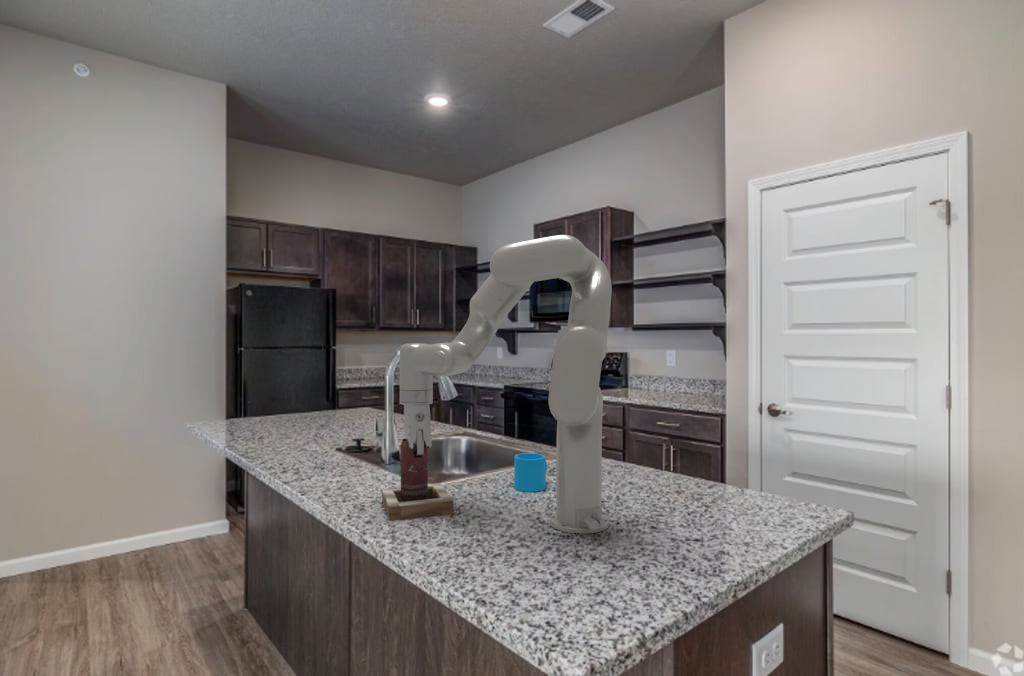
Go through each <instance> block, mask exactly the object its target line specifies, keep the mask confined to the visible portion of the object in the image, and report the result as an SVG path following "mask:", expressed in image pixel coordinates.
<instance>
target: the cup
mask: <svg viewBox="0 0 1024 676" xmlns="http://www.w3.org/2000/svg"><path fill="white" fill-rule="evenodd" d="M424 443H425V441H424ZM413 445H414V443H413ZM414 450H416V445H414V447H413V449H411V448H410V447H409V446H408V442H406V440H405V438H403V439H402V441H401V443H400V487H401V500H402V501H403V502H406V501H416V500H426V499H427V497H428V485H429V483H428V482H429V481H428V480H429V479H428V475H429V474H428V473H429V468H428V467H429V465H428V464H429V461H428V460H429V448H428V447H427V446H426V445H425V444H424V453H423V455H422V457H421V458H419V457H416V458H414V454H413V453H414Z"/></svg>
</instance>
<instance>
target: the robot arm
mask: <svg viewBox="0 0 1024 676" xmlns="http://www.w3.org/2000/svg"><path fill="white" fill-rule="evenodd" d="M489 270H490V275H489V276H488V277H487V278H486V279H485V281H484V282H483V283H482V284H481V285H480V287H479V288H478V289H477V291H475V293H474V294H473V295H472V297H471V298H470V300H469V316H468V319H467V321H466V323H465V324H464V326H463V327H462V329H461V331H460V332H459V333H458V334H457V336H456V337H454V339H453V340H452V341H451V342H450V341H449V342H439V343H433V344H429V343H420V342H419V343H415V342H414V343H404V344H402V345H401V346H400V348H399V405H403V406H404V407H403V408H404V409H403V411H404V412H403V419H404V420H403V422H404V423H403V426H404V427H403V428H404V429H403V431H404V434H403V435H404V439H405V440H406V442H408V446H409V447H410V448H411V449H413V447H414V445H416V450H414V453H413V454H414V458H416V457H419V458H421V457H422V455H423V453H424V444H425V445H426V446H427V447H428V449H430V448H431V447H432V446H433V445H432V420H431V411H430V407H431V406H430V405H432V404H433V403H434V402H433V401H434V390H433V389H434V385H433V382H434V381H433V380H434V377H442V378H443V377H450V376H453V375H460V374H463V373H464V372H467V370H469V369H470V368H472V366H473V365H474V364H475V363H476V361H477V360H478V359H479V358H480V356H481V355H482V354H483V352H484V351H486V349H487V347H488V346H489V345H490V344H491V341H492V340H493V338H494V337H495V335H496V333H497V331H498V330H499V328H500V325H501V324H502V322H503V321H504V320H505V318H506V317H507V316H508V314H509V313H510V312H511V311H512V310H513V308H514V307H515V306H516V304H518V302H519V301H520V300H521V299H522V298H523V296H524V295H525V294H526V293H527V292H528V290H529V289H530V287H531V286H532V284H534V282H540V281H546V280H547V281H548V280H552V279H561V280H564V281H566V282H567V283H569V284H570V286H571V298H570V303H569V311H568V313H569V314H568V320H567V327H565V328H564V329H563V330H562V331H561V332H560V334H559V335H558V337H557V339H556V342H555V345H554V349H553V356H552V357H553V358H552V365H551V366H552V367H551V375H550V381H549V390H548V391H549V392H548V406H549V407H548V408H549V410H550V413H551V415H552V416H553V418H554V419H555V420H556V421H557V422H556V423H557V424H556V512H554V513H552V514H551V515H550V516H549V518H548V519H549V521H548V522H549V525H550V527H552V528H554V529H556V530H558V531H560V532H563V533H567V532H568V534H574V533H576V534H577V533H579V534H577V535H588V534H590V533H591V534H597V533H600V532H603V531H606V530H607V529H608V528H609V527H610V519H609V517H608V516H607V515H605V514H603V513H602V512H603V507H602V505H603V504H602V503H603V499H602V498H603V497H602V496H603V494H602V493H603V491H602V490H603V488H602V487H603V485H602V482H603V481H602V479H603V478H602V477H603V475H602V473H603V472H602V471H603V470H602V468H603V466H602V464H603V461H602V457H603V456H602V453H603V450H602V449H603V448H602V446H603V445H602V444H603V440H602V439H603V436H602V435H603V415H604V414H603V413H604V412H603V411H604V398H603V393H602V390H601V387H600V381H601V372H602V365H603V364H602V363H603V360H604V359H605V358H606V355H607V353H608V352H607V351H608V350H607V349H608V335H609V333H608V332H609V326H610V325H609V323H610V313H611V304H612V295H613V294H612V290H613V288H612V278H611V275H610V272H609V270H608V268H607V266H606V265H605V263H604V262H603V261H602V259H600V258H599V256H598V255H596V254H595V253H594V252H593V251H591V250H589V248H587V247H586V246H585V245H584V243H582V241H581V240H579V239H578V238H576V237H575V236H572V235H569V234H556V235H551V236H545V237H540V238H533V239H531V240H530V239H529V240H524V241H518V242H512V243H509V244H508V243H507V244H504V245H503V246H502V245H501V246H500V247H499V248H497V250H495V252H494V253H493V254H492V256H491V257H490V261H489ZM424 441H425V443H424ZM413 443H414V445H413ZM576 534H575V535H576Z"/></svg>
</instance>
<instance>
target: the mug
mask: <svg viewBox="0 0 1024 676" xmlns="http://www.w3.org/2000/svg"><path fill="white" fill-rule="evenodd" d="M546 457H547V456H546V455H545V454H541V453H536V452H524V453H518V454H517V453H516V454H515V455H514V457H513V458H514V459H513V461H514V469H513V470H514V472H513V473H514V477H513V478H514V479H513V481H514V486H513V487H514V489H515V490H517V491H518V492H519V491H520V492H525V493H526V492H527V493H528V492H529V493H535V492H541V491H544V490H545V489H546V484H547V483H546V482H547V481H546V475H547V469H548V465H547V463H548V462H547V461H546Z"/></svg>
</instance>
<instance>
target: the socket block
mask: <svg viewBox="0 0 1024 676" xmlns="http://www.w3.org/2000/svg"><path fill="white" fill-rule="evenodd" d="M381 494H382V495H381V497H382V498H381V499H382V500H381V502H382V506H383V508H384V511H385V514H386V517H387V519H388V521H391V522H393V521H402V520H411V519H422V518H430V517H441V516H450V515H452V516H453V515H454V498H453V497H452V496H451V495H450V494H449V493H448V491H447V490H446V489H445V488H444V486H443V485H442V484H441V483H433V484H428V497H427V499H426V500H416V501H406V502H403V501H402V500H401V486H400V487H391V488H382V489H381Z"/></svg>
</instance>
